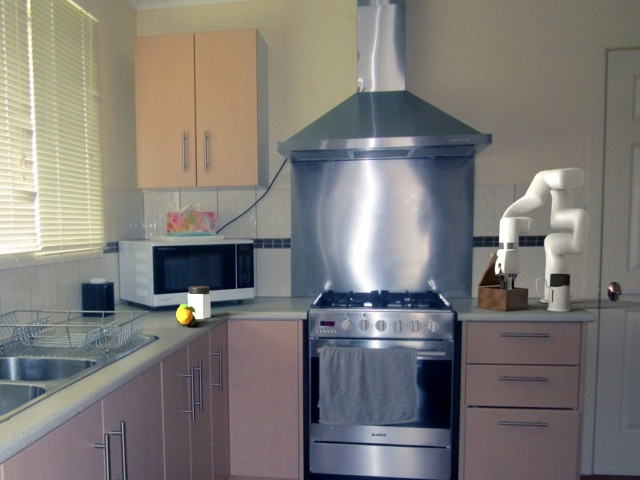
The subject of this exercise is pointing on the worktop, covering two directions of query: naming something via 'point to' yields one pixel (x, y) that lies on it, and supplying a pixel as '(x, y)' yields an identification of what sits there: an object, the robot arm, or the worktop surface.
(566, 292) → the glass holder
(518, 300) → the chest
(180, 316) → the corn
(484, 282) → the lid
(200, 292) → the jar
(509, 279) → the flask
